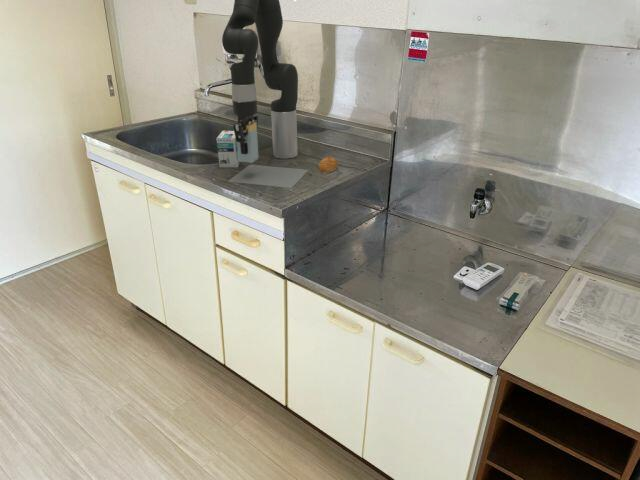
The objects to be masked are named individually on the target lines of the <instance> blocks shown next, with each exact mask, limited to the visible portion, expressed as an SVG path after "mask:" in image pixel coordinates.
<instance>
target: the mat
mask: <svg viewBox="0 0 640 480" xmlns="http://www.w3.org/2000/svg"><path fill="white" fill-rule="evenodd" d="M308 171H309V169H303V168H293V167H280V166H270V165H260V164H249V165H247V166H246V167H245V168H243V170H240V171H239V172H238V173H237V174H236V175H234V176H233V177H232V178H230V179H229V180H227V182H231V183H237V184H248V185H255V186H256V185H259V186H265V187H266V186H268V187H276V188H277V187H278V188H286V189H292V188H293V187H294V186H295V185H296V184H297V183H298V181H300V180H301V179H302V177H303V176H304V175H305V174H307V172H308Z"/></svg>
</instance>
